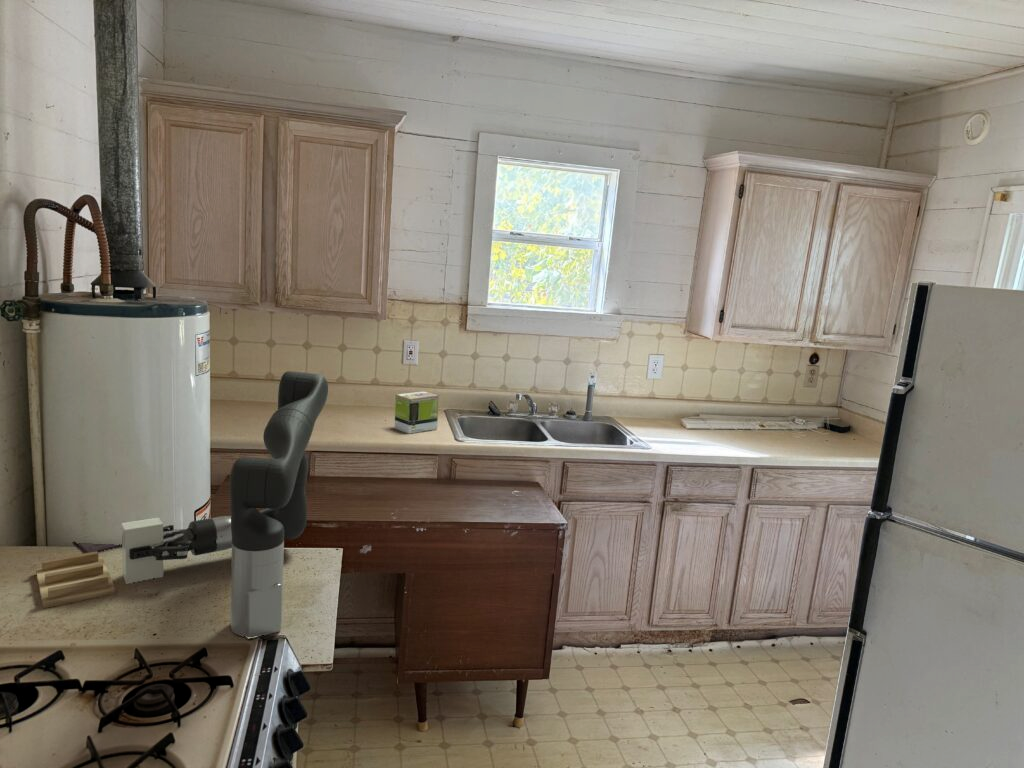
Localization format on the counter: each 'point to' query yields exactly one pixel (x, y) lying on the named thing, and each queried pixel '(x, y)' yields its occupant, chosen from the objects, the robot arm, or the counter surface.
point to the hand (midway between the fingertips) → (128, 550)
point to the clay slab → (137, 537)
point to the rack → (73, 579)
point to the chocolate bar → (96, 547)
